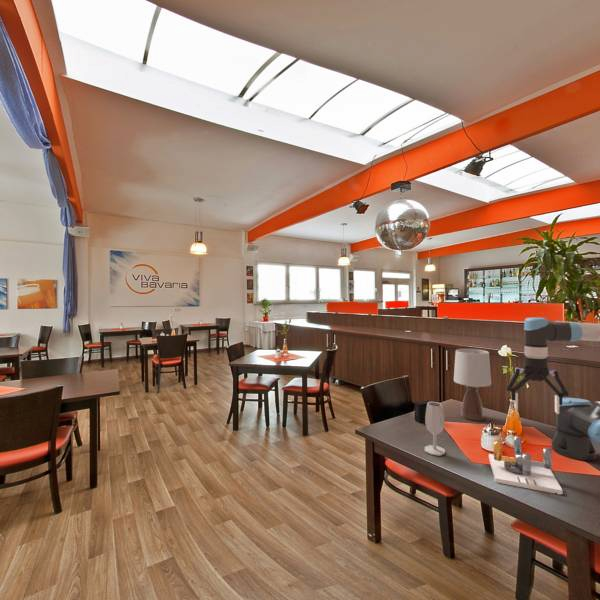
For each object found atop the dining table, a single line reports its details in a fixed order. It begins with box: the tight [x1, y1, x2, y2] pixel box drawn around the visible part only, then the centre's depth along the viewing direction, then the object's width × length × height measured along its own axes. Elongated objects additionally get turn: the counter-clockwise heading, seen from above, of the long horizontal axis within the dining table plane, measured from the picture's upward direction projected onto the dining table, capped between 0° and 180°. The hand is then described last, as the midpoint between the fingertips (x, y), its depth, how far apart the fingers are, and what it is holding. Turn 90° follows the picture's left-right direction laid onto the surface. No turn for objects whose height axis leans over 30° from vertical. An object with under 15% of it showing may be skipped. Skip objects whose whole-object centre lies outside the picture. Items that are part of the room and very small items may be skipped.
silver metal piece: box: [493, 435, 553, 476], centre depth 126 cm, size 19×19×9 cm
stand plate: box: [488, 453, 564, 495], centre depth 127 cm, size 20×20×2 cm
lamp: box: [453, 348, 492, 422], centre depth 185 cm, size 19×19×37 cm
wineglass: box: [424, 401, 446, 457], centre depth 145 cm, size 9×9×21 cm
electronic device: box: [414, 400, 432, 424], centre depth 181 cm, size 4×10×10 cm, turn 107°
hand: (536, 410), depth 131 cm, fingers open, 13 cm apart
